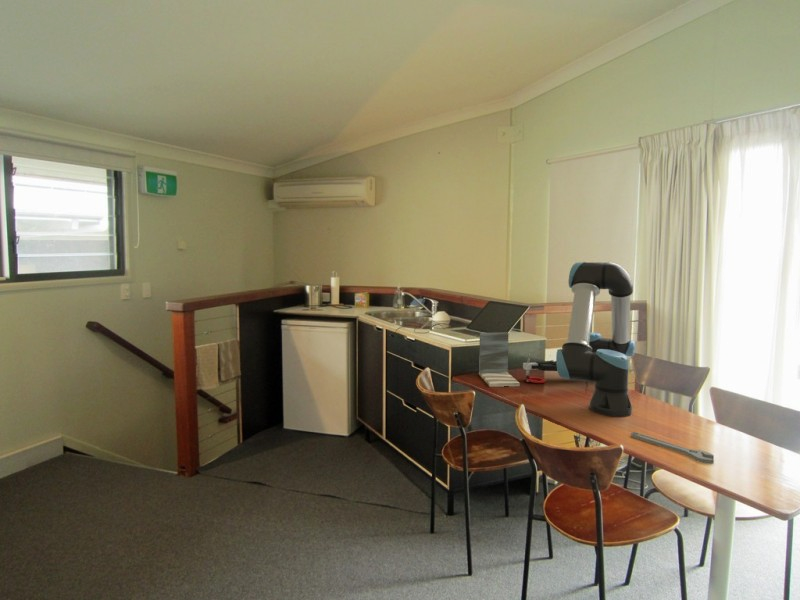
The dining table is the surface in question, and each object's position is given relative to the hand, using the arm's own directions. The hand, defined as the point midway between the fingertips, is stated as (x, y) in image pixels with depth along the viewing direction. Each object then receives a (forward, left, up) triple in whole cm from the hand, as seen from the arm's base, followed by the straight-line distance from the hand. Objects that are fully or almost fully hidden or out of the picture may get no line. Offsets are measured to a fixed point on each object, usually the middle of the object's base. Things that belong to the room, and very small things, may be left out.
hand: (523, 366), depth 225 cm
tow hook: (-1, -6, -7) cm, 9 cm away
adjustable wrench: (-79, -22, -8) cm, 82 cm away
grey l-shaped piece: (+3, +11, -7) cm, 14 cm away
